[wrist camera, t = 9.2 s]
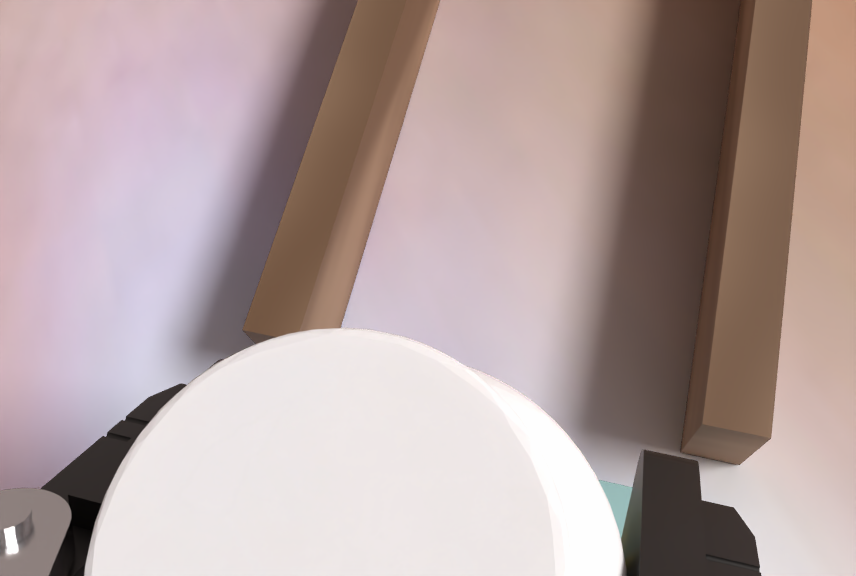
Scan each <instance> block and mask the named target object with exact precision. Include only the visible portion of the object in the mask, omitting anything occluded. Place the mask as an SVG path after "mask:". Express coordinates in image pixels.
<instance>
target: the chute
mask: <svg viewBox="0 0 856 576" xmlns="http://www.w3.org/2000/svg"><path fill="white" fill-rule="evenodd" d="M439 2H440V0H358V1H357V4H356V7H355V10H354V13H353V16H352V19H351V21H350V24H349V27H348V30H347V33H346V36H345V39H344V41H343V44H342V47H341V50H340V53H339V56H338V58H337V61H336V64H335V67H334V70H333V73H332V76H331V78H330V81H329V84H328V87H327V90H326V93H325V96H324V98H323V101H322V104H321V107H320V110H319V113H318V116H317V118H316V121H315V124H314V127H313V130H312V133H311V135H310V138H309V141H308V144H307V147H306V150H305V153H304V155H303V158H302V161H301V164H300V167H299V170H298V173H297V175H296V178H295V181H294V184H293V187H292V190H291V193H290V195H289V198H288V201H287V204H286V207H285V210H284V213H283V215H282V218H281V221H280V224H279V227H278V230H277V232H276V235H275V238H274V241H273V244H272V247H271V250H270V252H269V255H268V258H267V261H266V264H265V267H264V270H263V272H262V275H261V278H260V281H259V284H258V287H257V290H256V292H255V295H254V298H253V301H252V304H251V307H250V309H249V312H248V315H247V318H246V321H245V324H244V327H243V329H242V330H243V331H244V332H245V333H246V334H247V335H248V336H249V338H250V339H251V340H252V341H253V342H254V343H255V344H258V343H261V342H264V341H266V340H269V339H272V338H276V337H279V336H283V335H286V334H290V333H296V332H302V331H308V330H314V329H332V328H341V325H342V321H343V318H344V315H345V311H346V308H347V305H348V302H349V298H350V295H351V292H352V288H353V285H354V282H355V279H356V275H357V272H358V269H359V265H360V262H361V259H362V255H363V252H364V249H365V246H366V242H367V239H368V236H369V232H370V229H371V226H372V223H373V219H374V216H375V213H376V209H377V206H378V203H379V200H380V196H381V193H382V190H383V186H384V183H385V180H386V177H387V173H388V170H389V167H390V163H391V160H392V157H393V154H394V150H395V147H396V144H397V140H398V137H399V134H400V131H401V127H402V124H403V121H404V117H405V114H406V111H407V108H408V104H409V101H410V98H411V94H412V91H413V88H414V85H415V81H416V78H417V75H418V71H419V68H420V65H421V62H422V58H423V55H424V52H425V48H426V45H427V42H428V38H429V35H430V32H431V29H432V25H433V22H434V19H435V15H436V12H437V9H438V6H439ZM811 8H812V0H741V4H740V11H739V19H738V26H737V34H736V41H735V48H734V56H733V63H732V71H731V78H730V86H729V93H728V101H727V108H726V116H725V123H724V130H723V138H722V145H721V153H720V160H719V168H718V175H717V183H716V190H715V198H714V205H713V212H712V220H711V227H710V235H709V242H708V250H707V257H706V265H705V272H704V280H703V287H702V294H701V302H700V309H699V317H698V324H697V332H696V339H695V347H694V354H693V362H692V369H691V376H690V384H689V391H688V399H687V406H686V414H685V421H684V429H683V436H682V444H681V451H680V452H681V453H686V454H690V455H695V456H700V457H704V458H709V459H714V460H719V461H723V462H728V463H733V464H737V465H740V464H741V463H742V462H744V461H745V460H746V459H747V458H748V457H749V456H751V455H752V454H753V453H754V452H755V451H757V450H758V449H759V448H760V447H761V446H762V445H764V444H765V443H766V442H767V441H768V440H770V439H771V434H772V423H773V413H774V402H775V391H776V381H777V370H778V359H779V349H780V338H781V327H782V317H783V306H784V295H785V285H786V274H787V264H788V253H789V242H790V232H791V221H792V210H793V200H794V189H795V178H796V168H797V157H798V146H799V136H800V125H801V114H802V104H803V93H804V82H805V72H806V61H807V50H808V40H809V29H810V19H811Z"/></svg>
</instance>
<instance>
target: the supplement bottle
mask: <svg viewBox="0 0 856 576" xmlns="http://www.w3.org/2000/svg"><path fill="white" fill-rule="evenodd" d="M84 576H627V570H626V564H625V558H624V552H623V547H622V542H621V538H620V534H619V530H618V527H617V524H616V521H615V518H614V515H613V512H612V509H611V506H610V504H609V501H608V499H607V497H606V495H605V493H604V491H603V489H602V487H601V485H600V483H599V481H598V479H597V477H596V475H595V473H594V471H593V470H592V468H591V466H590V465H589V463H588V462H587V460H586V458H585V457H584V455H583V454H582V453H581V451H580V450H579V449H578V447H577V446H576V445H575V443H574V442H573V441H572V440H571V438H570V437H569V436H568V435H567V433H566V432H565V431H564V430H563V429H562V428H561V427H560V426H559V425H558V424H557V423H556V422H555V421H554V419H553V418H552V417H550V416H549V415H548V414H547V413H546V412H545V411H544V410H542V409H541V408H540V407H539V406H538V405H536V404H535V403H534V402H533V401H531V400H530V399H529V398H527V397H526V396H525V395H523V394H522V393H520V392H519V391H517V390H516V389H514V388H512V387H511V386H509V385H508V384H506V383H504V382H502V381H500V380H498V379H496V378H494V377H492V376H490V375H488V374H486V373H484V372H481V371H478V370H476V369H473V368H470V367H467V366H464V365H463V364H461V363H460V362H458V361H457V360H455V359H453V358H452V357H450V356H448V355H446V354H444V353H443V352H441V351H439V350H436V349H434V348H432V347H430V346H428V345H425V344H423V343H421V342H418V341H415V340H412V339H410V338H407V337H403V336H398V335H394V334H389V333H384V332H379V331H374V330H369V329H355V328H332V329H314V330H308V331H302V332H296V333H290V334H286V335H283V336H279V337H276V338H272V339H269V340H266V341H264V342H261V343H258V344H255V345H252V346H250V347H248V348H246V349H244V350H242V351H240V352H238V353H236V354H234V355H232V356H230V357H228V358H226V359H224V360H222V361H220V362H218V363H216V364H215V365H213V366H212V367H211V368H209V369H208V370H206V371H205V372H204V373H202V374H201V375H199V376H198V377H196V378H195V379H194V380H192V381H191V382H190V383H189V384H188V385H187V386H185V387H184V388H183V389H182V390H181V391H180V392H178V393H177V394H176V395H175V396H174V397H173V398H172V399H171V400H170V401H168V402H167V403H166V404H165V405H164V406H163V407H162V408H161V409H160V410H159V411H158V413H157V414H156V415H155V416H154V417H153V419H152V420H151V421H150V422H149V423H148V425H147V426H146V427H145V428H144V430H143V431H142V432H141V433H140V434H139V436H138V437H137V439H136V440H135V442H134V443H133V445H132V447H131V448H130V450H129V451H128V453H127V454H126V456H125V458H124V459H123V461H122V463H121V464H120V466H119V468H118V470H117V472H116V474H115V476H114V478H113V480H112V482H111V484H110V486H109V488H108V490H107V492H106V494H105V496H104V499H103V502H102V505H101V507H100V510H99V513H98V515H97V518H96V521H95V524H94V528H93V533H92V537H91V541H90V546H89V550H88V555H87V560H86V564H85V571H84Z"/></svg>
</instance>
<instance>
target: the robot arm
mask: <svg viewBox="0 0 856 576" xmlns="http://www.w3.org/2000/svg"><path fill="white" fill-rule="evenodd" d="M222 360H224V359H221V360H218V361H217V362H216V363H218V362H220V361H222ZM216 363H214V364H213V365H215V364H216ZM213 365H212V366H213ZM212 366H211V367H212ZM211 367H210V368H211ZM185 386H187V385H185V384H178V385H176V386H174V387H171V388H169V389H167V390H164V391H162V392H160V393H157V394H155V395H153V396H150V397H148V398H147V399H146V400H145V401H144V402H143V403H141V404H140V405H139V406H138V407H137V408H135V409H134V410H133V411H132V412H131V413H130V414H128V415H127V416H126V420H125V421H123V420H121V421H120V422H119V423H118V424H117V425H115V426H114V427H113V428H112V429H111V430H109V431H108V433H107V436H106V437H104V436H102V437H101V438H100V439H99V440H98V441H96V442H95V443H94V444H93V445H92V446H91V447H89V448H88V449H87V450H86V451H85V452H83V453H82V454H81V455H80V456H79V457H77V458H76V459H75V460H74V461H73V462H72V463H70V464H69V465H68V466H67V467H66V468H64V469H63V470H62V471H61V472H60V473H59V474H57V475H56V476H55V477H54V478H53V479H51V480H50V481H49V482H48V483H47V484H46V485H44V486H43V487H42V488H41V489H36V488H15V489H8V490H2V491H0V576H84V571H85V564H86V560H87V555H88V550H89V546H90V541H91V537H92V533H93V528H94V524H95V521H96V518H97V515H98V513H99V510H100V507H101V505H102V502H103V499H104V496H105V494H106V492H107V490H108V488H109V486H110V484H111V482H112V480H113V478H114V476H115V474H116V472H117V470H118V468H119V466H120V464H121V463H122V461H123V459H124V458H125V456H126V454H127V453H128V451H129V450H130V448H131V447H132V445H133V443H134V442H135V440H136V439H137V437H138V436H139V434H140V433H141V432H142V431H143V430H144V428H145V427H146V426H147V425H148V423H149V422H150V421H151V420H152V419H153V417H154V416H155V415H156V414H157V413H158V411H159V410H160V409H161V408H162V407H163V406H164V405H165V404H166V403H167V402H168V401H170V400H171V399H172V398H173V397H174V396H175V395H176V394H177V393H178V392H180V391H181V390H182V389H183V388H184V387H185ZM621 542H622V547H623V552H624V558H625V564H626V570H627V576H761V573H760V572H759V568H760V565H759V559H758V553H757V547H756V540H755V536H754V535H753V534H752V532H751V531H750V529H749V528H748V527H747V525H746V524H745V522H744V521H743V520H742V518H741V517H740V515H739V514H738V513H737V511H736V510H735V509H734V508H733V507H729V506H724V505H720V504H715V503H711V502H706V501H702V500H701V487H700V474H699V464H698V462H697V461H695V460H690V459H685V458H681V457H676V456H671V455H667V454H662V453H657V452H653V451H648V450H642V451H641V454H640V457H639V461H638V465H637V470H636V474H635V479H634V483H633V488H632V492H631V497H630V501H629V506H628V510H627V515H626V519H625V524H624V528H623V533H622V537H621Z"/></svg>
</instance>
